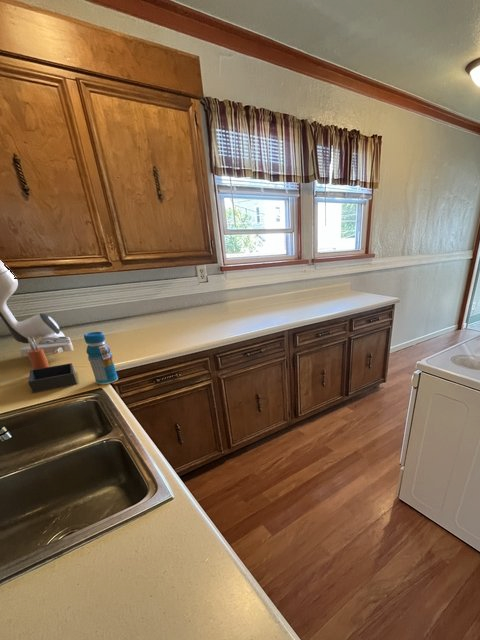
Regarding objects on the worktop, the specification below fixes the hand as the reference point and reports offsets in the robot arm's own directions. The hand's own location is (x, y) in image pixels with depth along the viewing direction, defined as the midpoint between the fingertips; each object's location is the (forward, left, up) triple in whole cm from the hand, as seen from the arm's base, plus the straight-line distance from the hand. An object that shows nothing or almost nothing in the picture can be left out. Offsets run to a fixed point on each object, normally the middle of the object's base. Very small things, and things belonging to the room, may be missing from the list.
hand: (44, 353), depth 147 cm
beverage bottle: (+20, -34, -7) cm, 40 cm away
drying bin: (+2, -23, -7) cm, 24 cm away
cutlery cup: (-2, -10, -7) cm, 12 cm away
